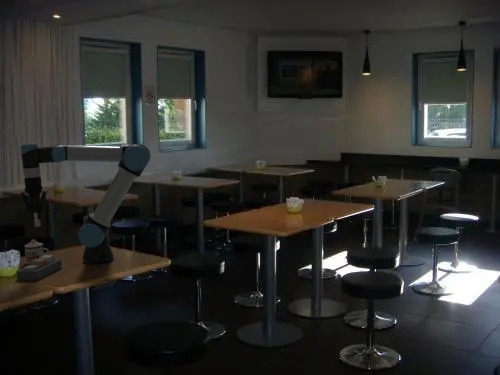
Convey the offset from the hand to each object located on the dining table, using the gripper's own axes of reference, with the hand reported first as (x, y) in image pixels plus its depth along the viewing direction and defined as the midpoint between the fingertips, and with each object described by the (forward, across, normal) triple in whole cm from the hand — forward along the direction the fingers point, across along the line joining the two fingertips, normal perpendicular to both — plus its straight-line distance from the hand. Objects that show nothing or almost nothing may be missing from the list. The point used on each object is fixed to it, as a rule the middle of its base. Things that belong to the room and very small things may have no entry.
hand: (38, 226), depth 299 cm
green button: (+20, +1, -13) cm, 24 cm away
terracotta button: (+19, +2, -6) cm, 19 cm away
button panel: (+22, +2, -6) cm, 22 cm away
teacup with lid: (+22, -10, +15) cm, 28 cm away
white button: (+19, +2, +1) cm, 19 cm away
